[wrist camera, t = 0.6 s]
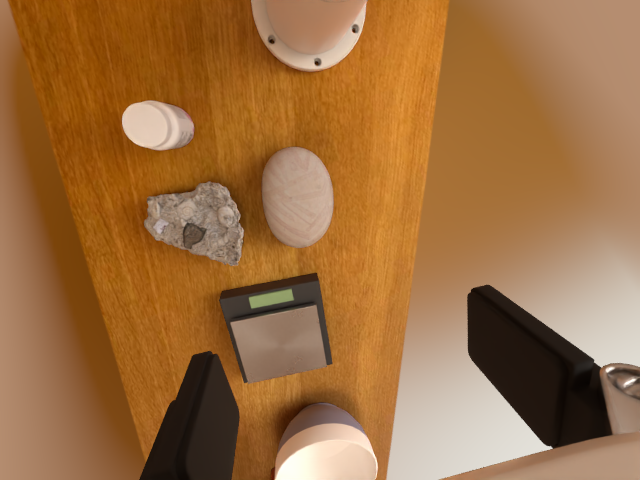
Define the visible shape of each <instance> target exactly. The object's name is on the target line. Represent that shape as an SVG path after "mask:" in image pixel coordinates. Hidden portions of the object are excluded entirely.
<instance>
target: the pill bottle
mask: <svg viewBox="0 0 640 480" xmlns="http://www.w3.org/2000/svg"><path fill="white" fill-rule="evenodd" d="M122 126H123V129H124V132H125V134H126V135H127V136H128V138H129V139H130V140H131V141H132V142H134V143H135V144H137V145H139V146H142V147H146V148H150V149H153V150H168V149H174V148H180V147H183V146H185V145H187V144H188V143H189V142H190V141H191V140H192V138H193V135H194V125H193V122H192V120H191V118H190V116H189V115H188V114H187V113H186V112H185V111H184V110H183V109H181V108H179V107H177V106H174V105H170V104H166V103H162V102H158V101H152V100H150V101H143V102H140V103H134V104H132V105H130V106H129V107H128V108H127V109H126V110H125V111H124V114H123V117H122Z"/></svg>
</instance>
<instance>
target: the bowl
mask: <svg viewBox="0 0 640 480" xmlns="http://www.w3.org/2000/svg"><path fill="white" fill-rule="evenodd" d="M377 471H378V466H377V460H376V457H375V455H374V452H373V449H372V447H371V444H370V441H369V439H368V438H367V436H366V434H365V432H364V430H363V428H362V427H361V425H360V424H359V423H358V422H357V421H356V420H355V419H354V418H353V417H352V416H351V415H350V414H349V413H348V412H346V411H345V410H343V409H341V408H338V407H337V406H335V405H333V404H330V403H316V404H312V405H309V406H307V407H305V408H304V409H303V410H301V411H300V412H299V413H298V415H297V416H296V417H294V419H293V420H292V421H291V422H290V423H289V425H288V427H287V428H286V430H285V432H284V434H283V436H282V438H281V440H280V443H279V447H278V452H277V458H276V465H275V480H375V479H376V476H377Z"/></svg>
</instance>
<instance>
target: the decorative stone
mask: <svg viewBox="0 0 640 480" xmlns="http://www.w3.org/2000/svg"><path fill="white" fill-rule="evenodd" d="M262 201H263V207H264V213H265V216H266V220H267V223H268V225H269V227H270V229H271V231H272V233H273V234H274V235H275V237H276V238H277V239H278V240H279V241H281V242H282V243H284V244H286V245H288V246H290V247H295V248H303V247H307V246H310V245H312V244H314V243H316V242H317V241H318V240H319V239H320V238H321V237H322V236H323V235H324V234H325V232H326V231H327V229H328V227H329V224H330V222H331V218H332V214H333V204H334V201H333V188H332V183H331V179H330V176H329V174H328V171H327V169H326V167H325V166H324V164H323V163H322V161H321V160H320V159H319V158H318V157H317V156H316V155H315V154H314V153H312V152H311V151H309V150H307V149H304V148H301V147H288V148H284V149H282V150H279V151H278V152H276V153H275V154H274V155H273V156H272V157H271V158H270V159H269V161H268V162H267V164H266V166H265V168H264V172H263V177H262Z"/></svg>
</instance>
